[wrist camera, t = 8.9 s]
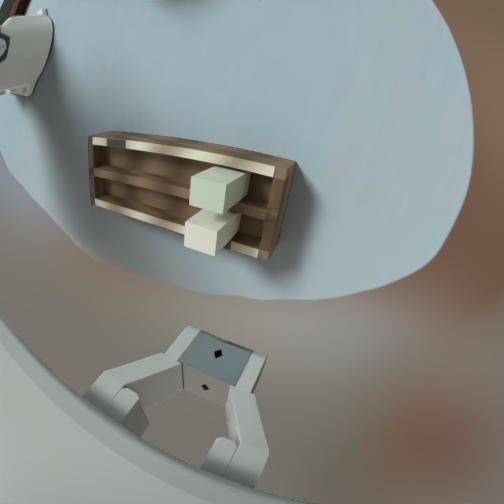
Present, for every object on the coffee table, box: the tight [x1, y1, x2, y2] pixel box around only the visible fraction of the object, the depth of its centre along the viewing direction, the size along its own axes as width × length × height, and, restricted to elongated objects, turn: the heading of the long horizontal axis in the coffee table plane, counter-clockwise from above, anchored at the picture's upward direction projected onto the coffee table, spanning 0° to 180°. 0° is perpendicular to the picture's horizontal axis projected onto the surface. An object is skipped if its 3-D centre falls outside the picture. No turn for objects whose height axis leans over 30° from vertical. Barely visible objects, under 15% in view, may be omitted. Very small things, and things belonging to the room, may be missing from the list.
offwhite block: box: [184, 209, 241, 257], centre depth 25 cm, size 3×2×6 cm
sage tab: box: [189, 165, 251, 214], centre depth 23 cm, size 3×2×6 cm
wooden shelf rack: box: [88, 131, 296, 261], centre depth 28 cm, size 24×9×4 cm, turn 81°
